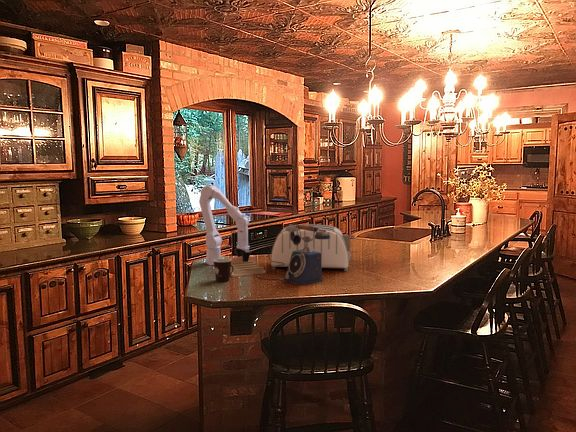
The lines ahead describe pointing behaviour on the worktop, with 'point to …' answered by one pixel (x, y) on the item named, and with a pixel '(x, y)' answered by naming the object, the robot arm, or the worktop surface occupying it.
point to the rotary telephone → (303, 258)
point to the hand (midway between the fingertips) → (243, 262)
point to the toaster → (314, 247)
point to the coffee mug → (222, 269)
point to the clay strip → (240, 259)
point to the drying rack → (246, 269)
